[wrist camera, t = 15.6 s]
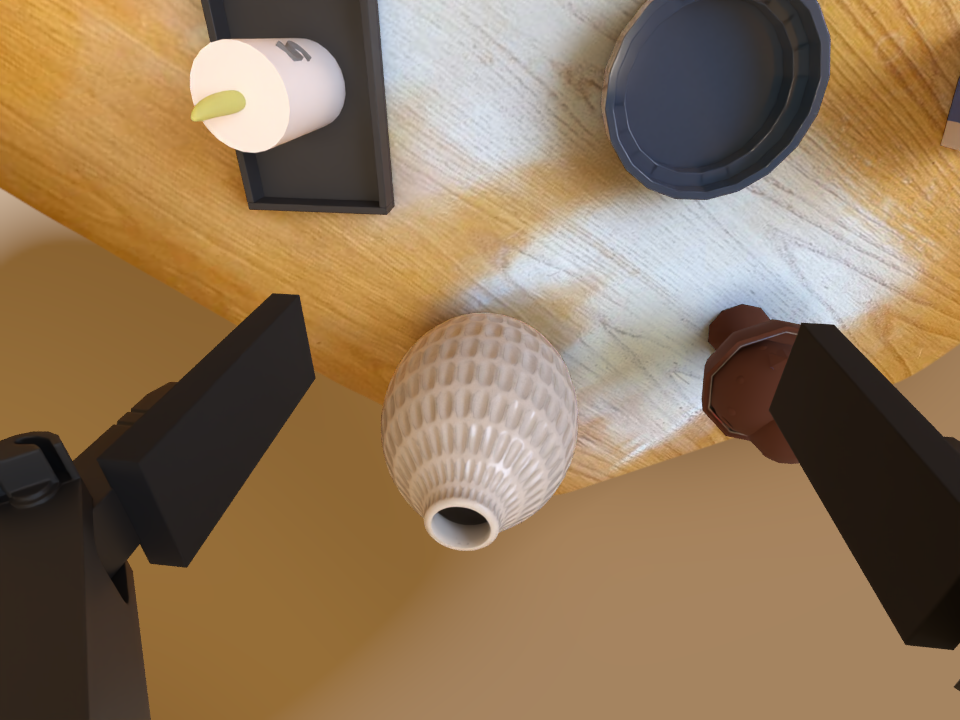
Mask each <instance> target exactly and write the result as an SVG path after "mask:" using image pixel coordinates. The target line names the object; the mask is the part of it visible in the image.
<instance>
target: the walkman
mask: <svg viewBox="0 0 960 720" xmlns="http://www.w3.org/2000/svg"><path fill="white" fill-rule="evenodd" d="M947 120H948V121H947V125H946V128H945V132H944V135H943V139H942V142H941V146H945V147H948V148H952V149H955V150H959V151H960V78H959V81H958V85H957V88H956V91H955V95H954V98H953V102H952V105H951V109H950V112H949V116H948V119H947Z"/></svg>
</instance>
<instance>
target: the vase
mask: <svg viewBox="0 0 960 720" xmlns="http://www.w3.org/2000/svg"><path fill="white" fill-rule="evenodd" d="M578 417H579V414H578V403H577V397H576V391H575V387H574V384H573V381H572V379H571V376H570V373H569V371H568V368H567V366H566V364H565V362H564V360H563V359H562V357H561V356H560V354H559V353H558V351H557V350H556V349H555V348H554V347H553V345H552V344H551V343H550V342H549V341H548V340H547V339H546V337H545V336H543V335H542V334H541V333H540V332H539V331H537V330H536V329H535V328H533V327H531V326H530V325H528V324H527V323H525V322H522V321H520V320H518V319H515V318H513V317H509V316H505V315H502V314H495V313H471V314H465V315H460V316H457V317H454V318H451V319H449V320H447V321H445V322H443V323H441V324H439V325H437V326H436V327H434V328H432V329H431V330H429V331H428V332H427V333H425V334H424V335H423V336H421V337H420V338H419V339H418V340H417V341H416V342H415V343H414V345H413V346H412V347H411V348H410V349H409V350H408V351H407V353H406V354H405V355H404V356H403V358H402V360H401V361H400V363H399V364H398V366H397V368H396V370H395V372H394V374H393V376H392V378H391V381H390V383H389V386H388V389H387V392H386V396H385V399H384V403H383V409H382V415H381V440H382V446H383V452H384V456H385V460H386V464H387V467H388V470H389V472H390V475H391V477H392V479H393V482H394V484H395V485H396V487H397V488H398V490H399V491H400V493H401V494H402V496H403V497H404V499H405V500H406V501H407V502H408V503H409V505H410V506H411V507H412V508H413V509H414V510H415V511H416V512H417V513H418V514H419V515H420V516H421V517H423V518H424V525H425V528H426V530H427V532H428V533H429V535H430V536H431V537H432V538H433V539H434V540H436V541H437V542H438V543H440V544H442V545H444V546H446V547H448V548H451V549H455V550H461V551H469V550H477V549H480V548H484V547H486V546H488V545H489V544H491V543H492V542H493V541H494V540H495V538H496V537H497V534H498V533H499V532H501V531H504V530H506V529H508V528H511V527H513V526H515V525H517V524H519V523H521V522H523V521H524V520H526V519H527V518H529V517H530V516H532V515H533V514H534V513H536V512H537V511H538V510H539V509H540V508H541V507H542V506H543V505H544V504H545V503H546V502H547V501H548V500H549V499H550V498H551V497H552V495H553V494H554V493H555V491H556V490H557V488H558V487H559V485H560V484H561V482H562V480H563V479H564V477H565V475H566V473H567V471H568V468H569V466H570V463H571V461H572V458H573V455H574V451H575V447H576V443H577V435H578Z"/></svg>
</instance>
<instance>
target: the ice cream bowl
mask: <svg viewBox="0 0 960 720" xmlns="http://www.w3.org/2000/svg"><path fill="white" fill-rule="evenodd" d="M800 326H801V325H800V324H795V323H790V322H785V321H780V320H773V319H772V320H770V319H769V318H768V316H767V315H766V314H765V313H764V311H763V310H762V309H761V308H759V307H754V306H749V305H744V304H741V305H738V306H736V307H733V308H730V309H727V310H724V311H722V312H721V313H720V314H719V315H718V316H717V318H716V319H715V320H714V321H713V322H712V323H711V324H710V325H709V337H708V342H709V343H710V344H711V345H712V346H713V348H714V349H715V350H716V351H715V352H714V353H713V354H712V355H711V356H710V357H709V358H708V359H707V361H706V364H705V367H704V379H703V390H702V409H703V411H704V412H705V414H706V415H707V416H708V417H709V418H710V419H711V420H712V421H713V422H714V423H715V424H716V426H717V427H718V428H719V429H720V430H721V431H722V432H723V433H724V434H725V435H726V436H729V437H734V438H739V439H744V440H749V441H751V442H752V443H753V444H754V445H755V446H756V447H757V448H758V449H759V450H760V451H761V452H762V454H763V455H764V456H765V457H767V458H769V459H771V460H774V461H776V462H778V463H788V464H794V463H795V464H796V463H799V462H798V460H797V458H796V456H795V455H794V453H793V451H792V450H791V448H790V446H789V444H788V443H787V441H786V439H785V438H784V436H783V434H782V432H781V431H780V429H779V427H778V426H777V424H776V422H775V420H774V419H773V417H772V415H771V414H770V412H769V408H770V405H771V402H772V400H773V397H774V394H775V392H776V389H777V386H778V384H779V381H780V379H781V376H782V373H783V371H784V368H785V365H786V363H787V360H788V357H789V355H790V352H791V349H792V347H793V344H794V342H795V339H796V336H797V334H798V331H799V328H800Z"/></svg>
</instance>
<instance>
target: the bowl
mask: <svg viewBox="0 0 960 720" xmlns="http://www.w3.org/2000/svg"><path fill="white" fill-rule="evenodd" d="M830 42H831V39H830V34H829V31H828V28H827V25H826V22H825V19H824V17H823V14H822V11H821V8H820V5H819V3H818V1H817V0H648V1H647V2H645V3H644V4H643V5H642V6H641V7H640V8H639V9H638V11H637V12H636V13H635V15H634V16H633V17H632V19H631V20H630V21H629V23H628V24H627V25H626V27H625V28H624V29H623V31H622V32H621V33H620V35H619V37H618V38H617V41H616V43H615V46H614V48H613V51H612V53H611V56H610V58H609V61H608V63H607V65H606V68H605V71H604V79H603V88H602V97H601V109H602V115H603V120H604V126H605V131H606V135H607V137H608V139H609V141H610V143H611V144H612V146H613V148H614V150H615V152H616V153H617V155H618V157H619V159H620V161H621V162H622V164H623V166H624V168H625V169H626V170H627V171H628V172H629V173H630V174H631V175H632V176H634V177H635V178H636V179H637V180H638V181H639V182H641V183H642V184H643V185H644V186H645V187H646V188H648V189H650V190H653V191H655V192H658V193H661V194H663V195H666V196H669V197H671V198H674V199H693V200H708V199H712V198H715V197H719V196H723V195H727V194H731V193H734V192H738V191H740V190H742V189H743V188H745V187H747V186H749V185H750V184H752V183H754V182H756V181H757V180H759V179H761V178H762V177H764V176H766V175H768V174H769V173H770V172H771V171H772V170H773V169H775V168H776V167H777V166H778V165H779V164H780V163H781V162H782V161H783V160H784V159H785V158H786V157H787V156H788V155H789V154H790V153H791V152H792V151H793V150H794V149H795V148H796V147H797V146H798V145H799V143H800V142H801V140H802V138H803V137H804V135H805V134H806V132H807V131H808V129H809V127H810V126H811V124H812V123H813V121H814V119H815V118H816V116H817V115H818V114H817V113H818V112H819V109H820V106H821V103H822V99H823V96H824V93H825V90H826V87H827V84H828V81H829V77H830Z"/></svg>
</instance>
